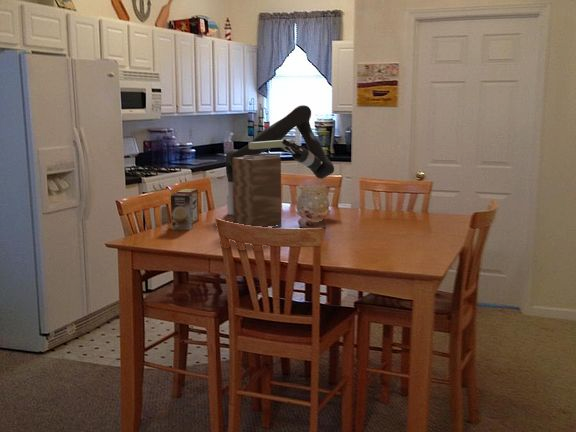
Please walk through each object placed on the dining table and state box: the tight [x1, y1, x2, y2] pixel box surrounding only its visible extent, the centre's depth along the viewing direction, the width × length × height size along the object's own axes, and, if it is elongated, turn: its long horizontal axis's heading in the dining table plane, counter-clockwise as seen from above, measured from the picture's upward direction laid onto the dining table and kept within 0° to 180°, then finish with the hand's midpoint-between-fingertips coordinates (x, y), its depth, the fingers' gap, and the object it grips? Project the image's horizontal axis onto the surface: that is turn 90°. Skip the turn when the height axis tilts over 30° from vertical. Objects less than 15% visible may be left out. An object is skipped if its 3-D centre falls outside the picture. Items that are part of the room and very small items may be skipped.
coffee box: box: [170, 192, 194, 231], centre depth 295 cm, size 9×6×16 cm
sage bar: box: [248, 139, 294, 149], centre depth 306 cm, size 4×24×3 cm, turn 130°
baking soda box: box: [176, 188, 200, 224], centre depth 310 cm, size 10×6×16 cm
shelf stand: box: [232, 153, 282, 227], centre depth 299 cm, size 16×16×34 cm
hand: (280, 140), depth 309 cm, fingers closed on sage bar, 4 cm apart
